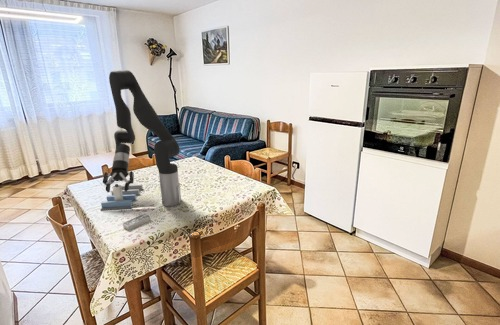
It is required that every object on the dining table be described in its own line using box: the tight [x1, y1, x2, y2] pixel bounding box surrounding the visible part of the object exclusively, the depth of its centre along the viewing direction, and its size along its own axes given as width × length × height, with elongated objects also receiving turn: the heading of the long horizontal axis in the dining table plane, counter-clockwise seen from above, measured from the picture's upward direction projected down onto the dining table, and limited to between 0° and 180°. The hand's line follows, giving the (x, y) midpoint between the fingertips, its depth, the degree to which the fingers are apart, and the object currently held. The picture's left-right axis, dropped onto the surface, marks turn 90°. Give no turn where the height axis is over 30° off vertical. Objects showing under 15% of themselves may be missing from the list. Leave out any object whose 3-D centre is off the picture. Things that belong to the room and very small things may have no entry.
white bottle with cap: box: [112, 183, 123, 201], centre depth 136 cm, size 4×4×10 cm
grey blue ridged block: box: [100, 183, 144, 212], centre depth 144 cm, size 14×26×4 cm, turn 7°
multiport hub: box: [122, 213, 151, 231], centre depth 120 cm, size 4×11×2 cm, turn 144°
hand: (116, 191), depth 134 cm, fingers open, 8 cm apart
